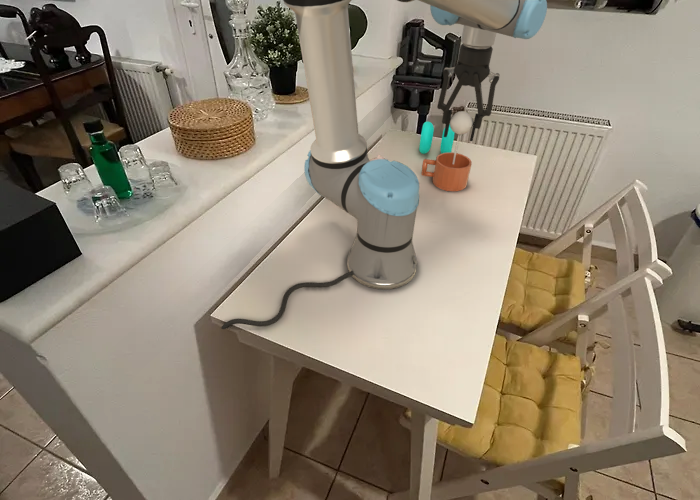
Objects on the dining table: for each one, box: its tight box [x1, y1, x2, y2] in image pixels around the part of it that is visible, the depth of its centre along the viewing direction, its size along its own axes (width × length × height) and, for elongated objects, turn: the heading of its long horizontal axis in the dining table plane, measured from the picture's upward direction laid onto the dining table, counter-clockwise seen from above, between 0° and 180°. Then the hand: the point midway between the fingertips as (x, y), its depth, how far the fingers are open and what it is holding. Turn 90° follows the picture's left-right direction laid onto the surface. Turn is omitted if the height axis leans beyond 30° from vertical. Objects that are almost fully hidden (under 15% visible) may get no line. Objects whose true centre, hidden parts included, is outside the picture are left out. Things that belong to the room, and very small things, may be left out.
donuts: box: [418, 120, 456, 155], centre depth 135 cm, size 10×10×10 cm
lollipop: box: [450, 110, 474, 164], centre depth 116 cm, size 6×6×15 cm
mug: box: [420, 152, 473, 192], centre depth 122 cm, size 13×10×7 cm
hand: (458, 136), depth 115 cm, fingers closed on lollipop, 6 cm apart
